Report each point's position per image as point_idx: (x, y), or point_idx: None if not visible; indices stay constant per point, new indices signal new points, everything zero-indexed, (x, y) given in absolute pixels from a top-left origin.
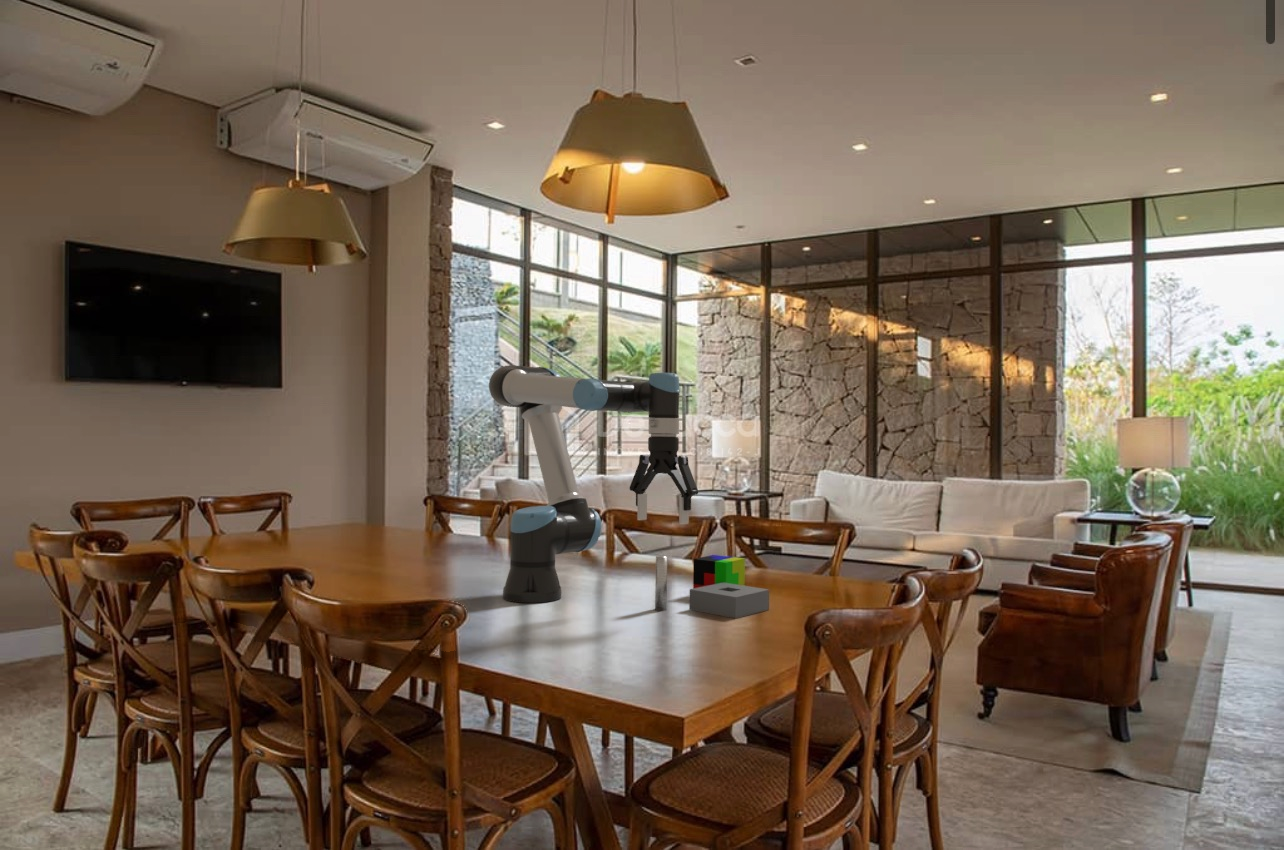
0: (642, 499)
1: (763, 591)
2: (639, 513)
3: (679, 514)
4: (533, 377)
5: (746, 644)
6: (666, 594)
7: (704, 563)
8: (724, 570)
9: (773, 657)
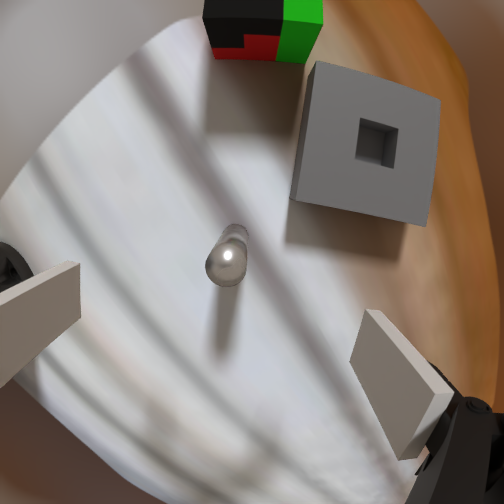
0: (16, 347)
1: (439, 121)
2: (62, 331)
3: (365, 390)
4: None
5: (456, 363)
6: (247, 239)
7: (243, 22)
8: (313, 33)
9: (483, 385)
